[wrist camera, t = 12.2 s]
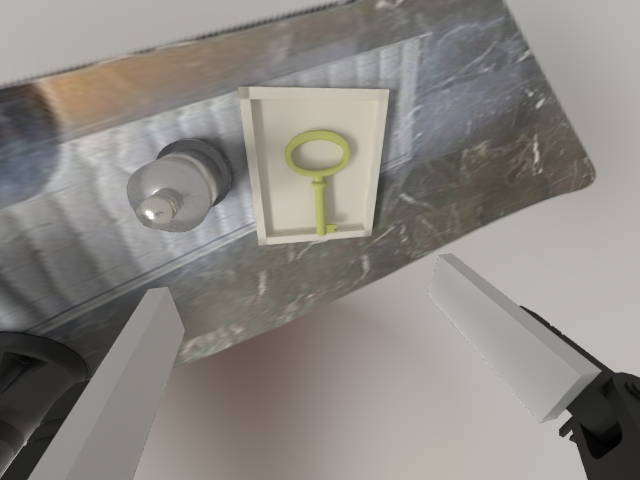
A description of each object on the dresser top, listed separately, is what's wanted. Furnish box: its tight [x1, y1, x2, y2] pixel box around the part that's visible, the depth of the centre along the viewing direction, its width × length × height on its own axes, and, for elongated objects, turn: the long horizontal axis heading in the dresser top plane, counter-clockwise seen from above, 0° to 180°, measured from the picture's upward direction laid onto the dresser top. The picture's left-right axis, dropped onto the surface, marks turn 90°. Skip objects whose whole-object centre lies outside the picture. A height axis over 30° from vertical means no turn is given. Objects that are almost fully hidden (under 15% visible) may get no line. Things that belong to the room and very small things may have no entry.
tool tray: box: [237, 86, 390, 245], centre depth 28 cm, size 15×17×2 cm
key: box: [285, 130, 351, 236], centre depth 28 cm, size 7×12×2 cm, turn 20°
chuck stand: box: [127, 138, 232, 232], centre depth 21 cm, size 7×7×12 cm
